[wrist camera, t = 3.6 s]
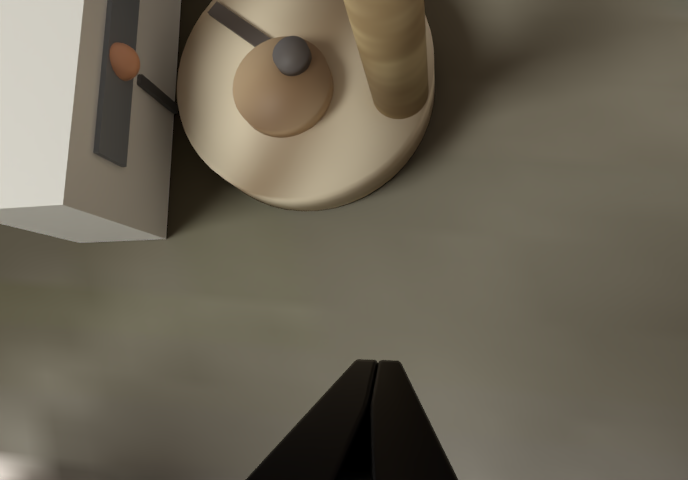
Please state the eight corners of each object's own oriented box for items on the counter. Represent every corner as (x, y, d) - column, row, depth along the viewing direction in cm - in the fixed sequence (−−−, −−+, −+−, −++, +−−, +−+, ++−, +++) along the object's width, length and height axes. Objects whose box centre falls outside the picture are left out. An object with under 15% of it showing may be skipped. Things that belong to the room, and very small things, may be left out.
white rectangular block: (184, 238, 25) (86, 203, 18) (79, 243, 26) (-50, 211, 19) (197, -9, 27) (117, -122, 20) (102, 5, 28) (-5, -97, 21)
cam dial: (168, 173, 25) (-47, 49, 14) (249, -31, 26) (111, -292, 15) (387, 243, 22) (335, 156, 11) (467, 10, 24) (491, -274, 12)
